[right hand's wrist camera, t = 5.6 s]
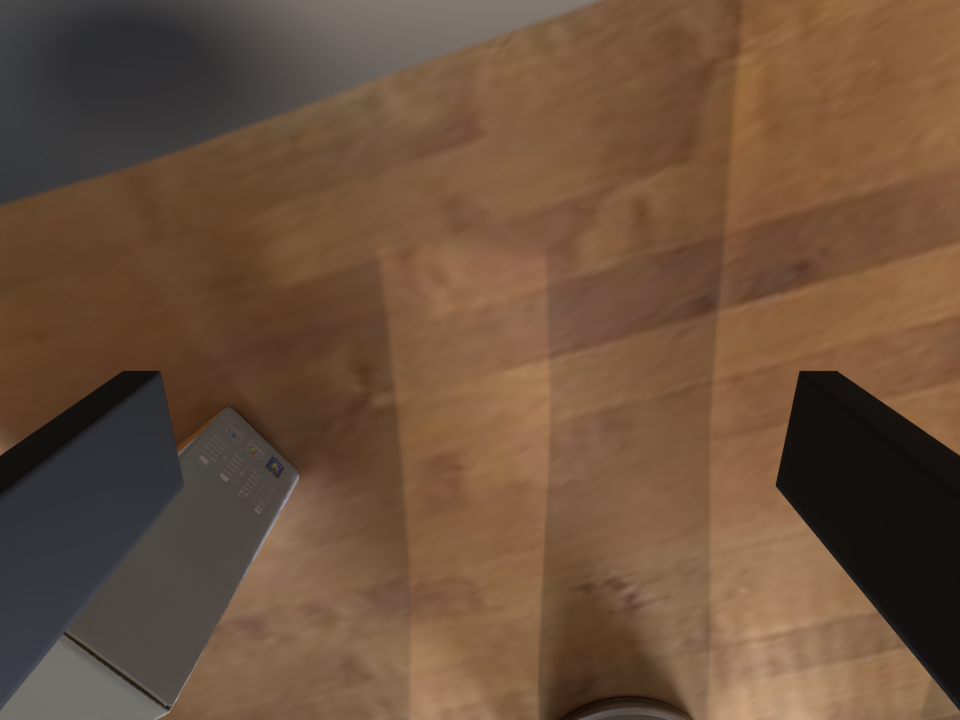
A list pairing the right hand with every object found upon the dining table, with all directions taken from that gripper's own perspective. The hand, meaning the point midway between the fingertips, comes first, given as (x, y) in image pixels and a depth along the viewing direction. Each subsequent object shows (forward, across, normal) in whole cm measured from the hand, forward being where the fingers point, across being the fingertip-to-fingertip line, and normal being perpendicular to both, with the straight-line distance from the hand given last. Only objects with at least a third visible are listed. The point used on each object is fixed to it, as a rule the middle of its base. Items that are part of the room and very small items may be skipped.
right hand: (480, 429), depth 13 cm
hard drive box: (+28, +22, +20) cm, 41 cm away
